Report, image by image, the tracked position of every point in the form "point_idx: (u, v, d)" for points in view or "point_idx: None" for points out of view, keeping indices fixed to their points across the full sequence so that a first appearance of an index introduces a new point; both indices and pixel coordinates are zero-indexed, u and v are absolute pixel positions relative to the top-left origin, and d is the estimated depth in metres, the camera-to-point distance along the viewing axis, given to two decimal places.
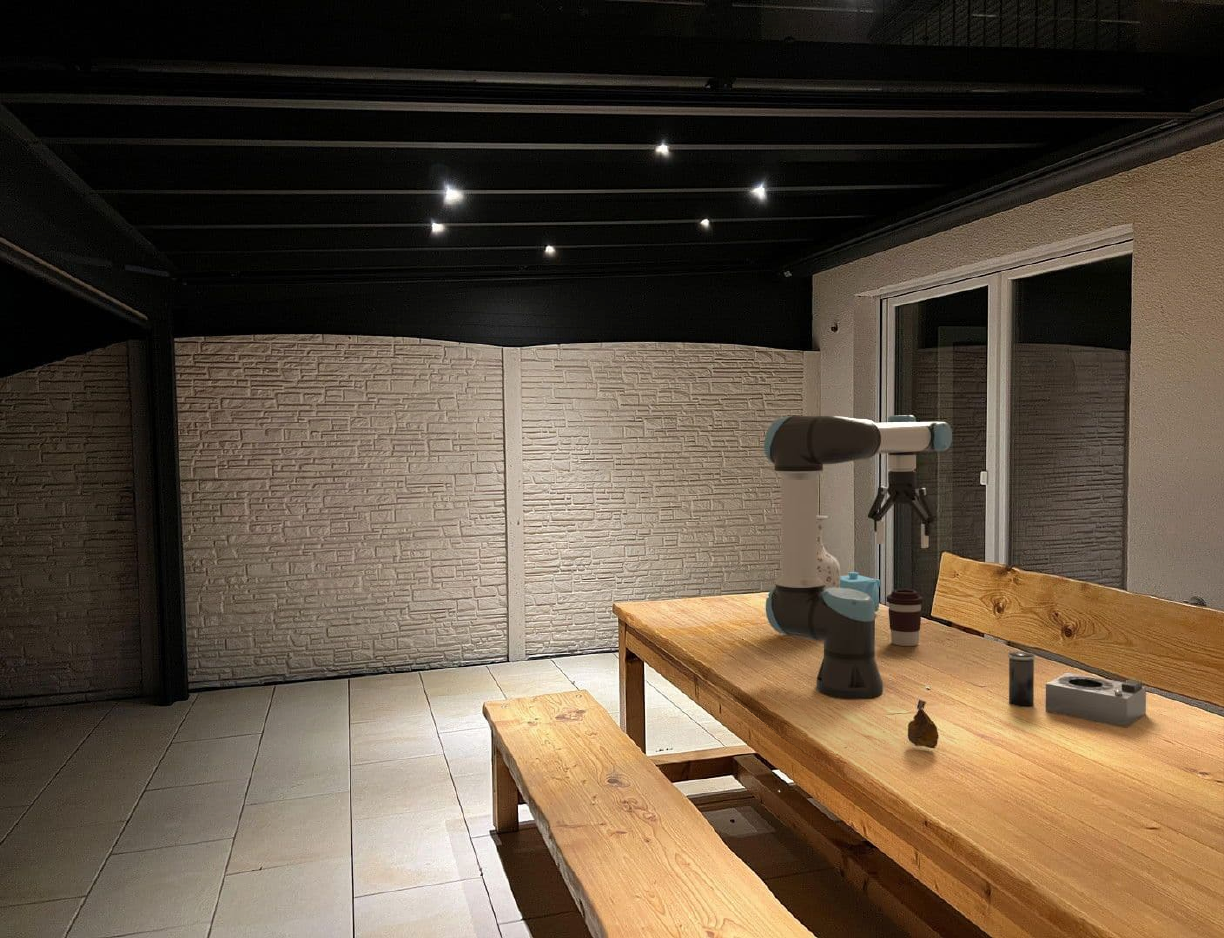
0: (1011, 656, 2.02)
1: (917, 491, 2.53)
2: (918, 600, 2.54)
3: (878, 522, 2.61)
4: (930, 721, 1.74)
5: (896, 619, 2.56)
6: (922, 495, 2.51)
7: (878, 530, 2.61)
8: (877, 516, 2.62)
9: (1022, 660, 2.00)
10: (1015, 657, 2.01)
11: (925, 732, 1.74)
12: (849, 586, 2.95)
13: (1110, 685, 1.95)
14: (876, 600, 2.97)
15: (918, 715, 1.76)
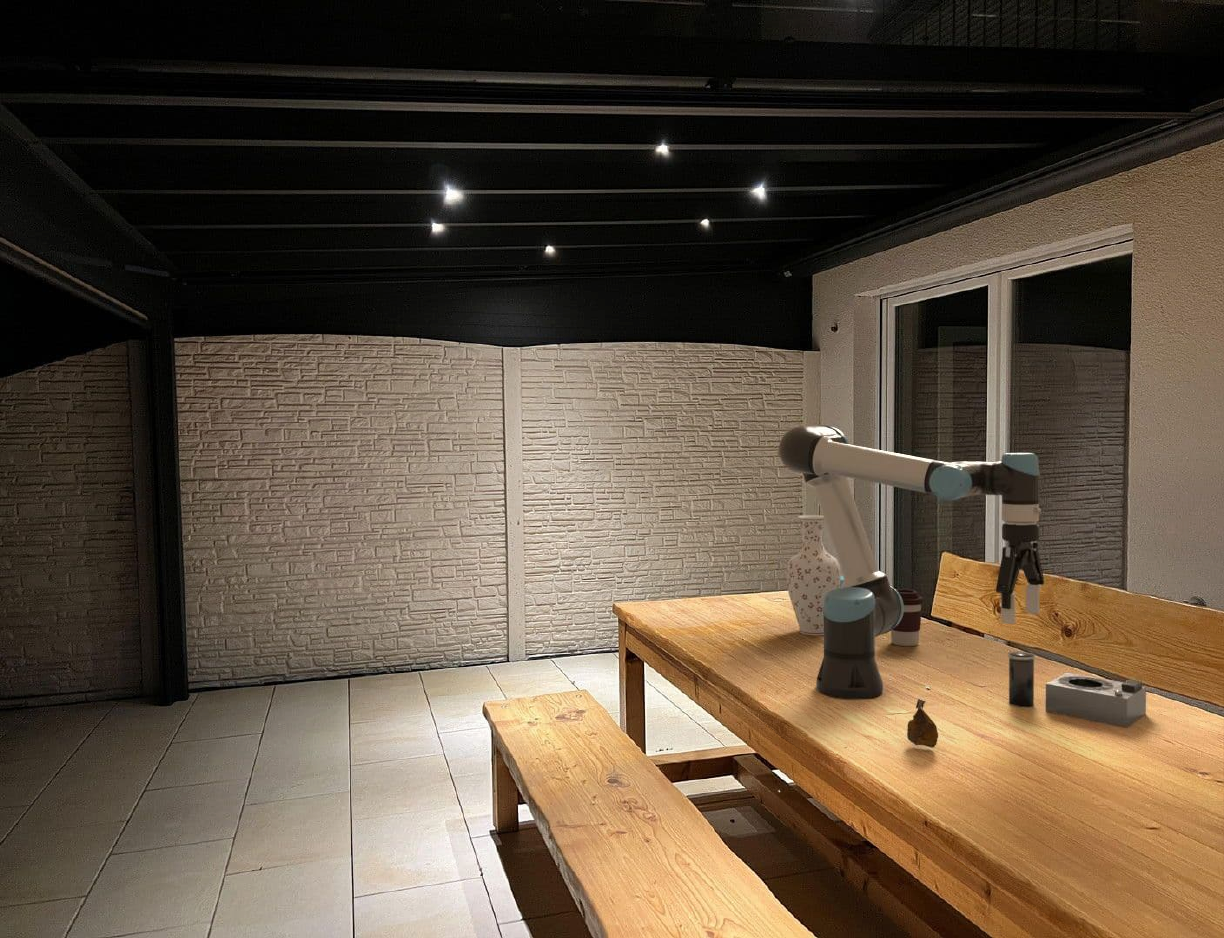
0: (1011, 656, 2.02)
1: None
2: (918, 600, 2.54)
3: (1026, 585, 2.08)
4: (930, 720, 1.74)
5: None
6: None
7: (1026, 595, 2.08)
8: None
9: (1022, 660, 2.00)
10: (1015, 657, 2.01)
11: (925, 731, 1.74)
12: None
13: (1110, 685, 1.95)
14: None
15: (917, 715, 1.76)
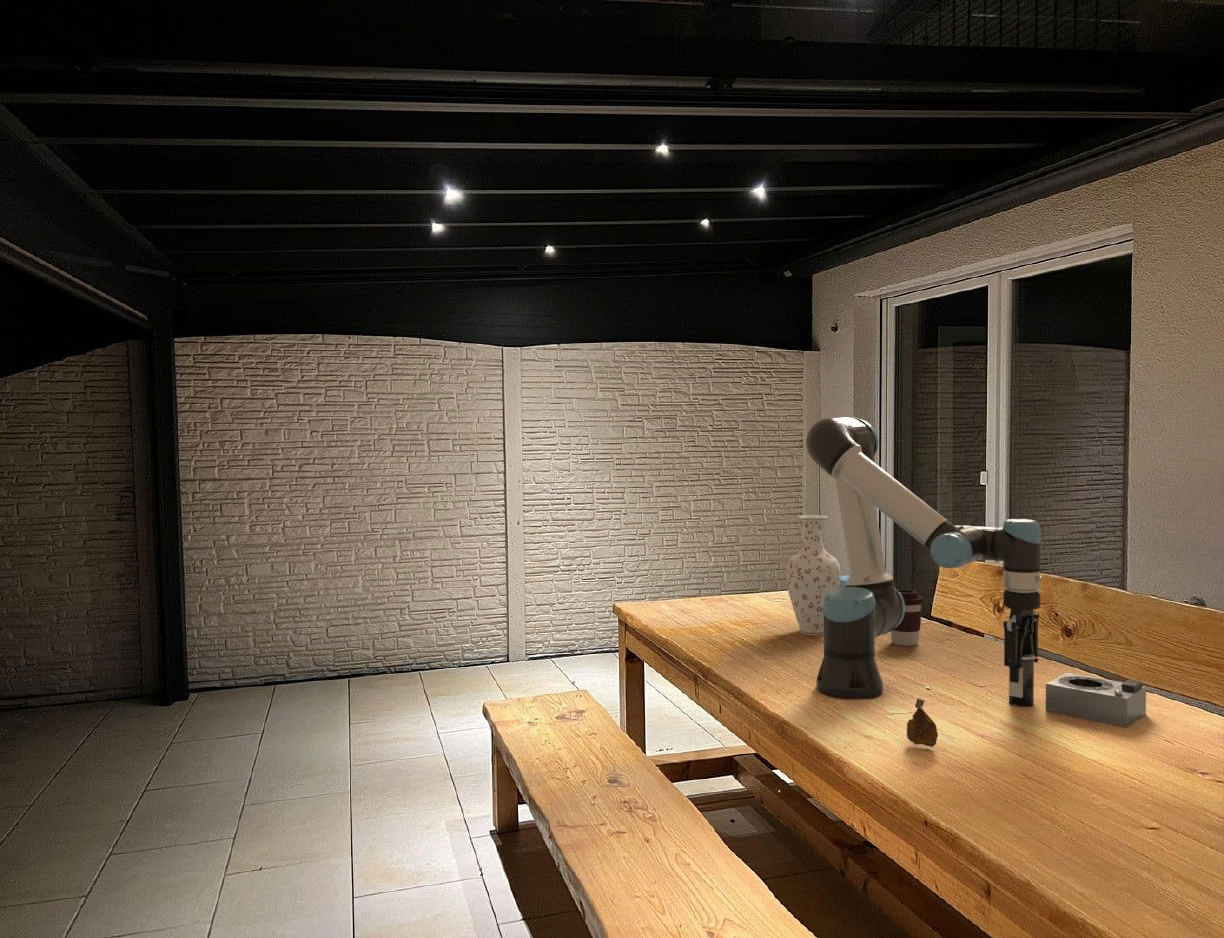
0: None
1: None
2: (918, 600, 2.54)
3: None
4: (929, 719, 1.75)
5: None
6: None
7: None
8: None
9: (1022, 660, 2.00)
10: None
11: (925, 730, 1.75)
12: None
13: (1110, 685, 1.95)
14: None
15: (917, 714, 1.77)
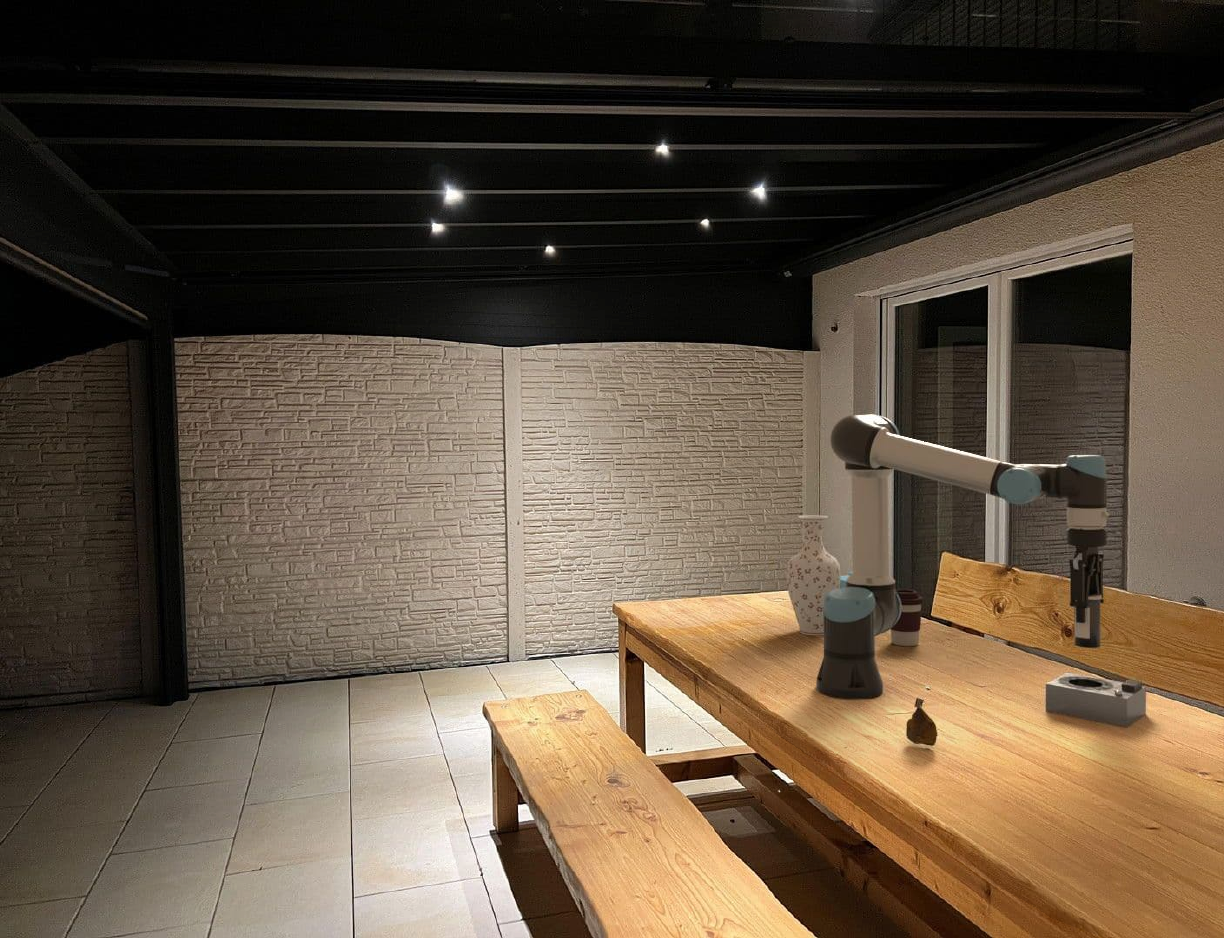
0: None
1: None
2: (918, 600, 2.54)
3: None
4: (929, 719, 1.75)
5: None
6: (1070, 568, 1.93)
7: None
8: None
9: (1089, 599, 1.94)
10: None
11: (924, 730, 1.75)
12: None
13: (1110, 685, 1.95)
14: None
15: (917, 713, 1.77)
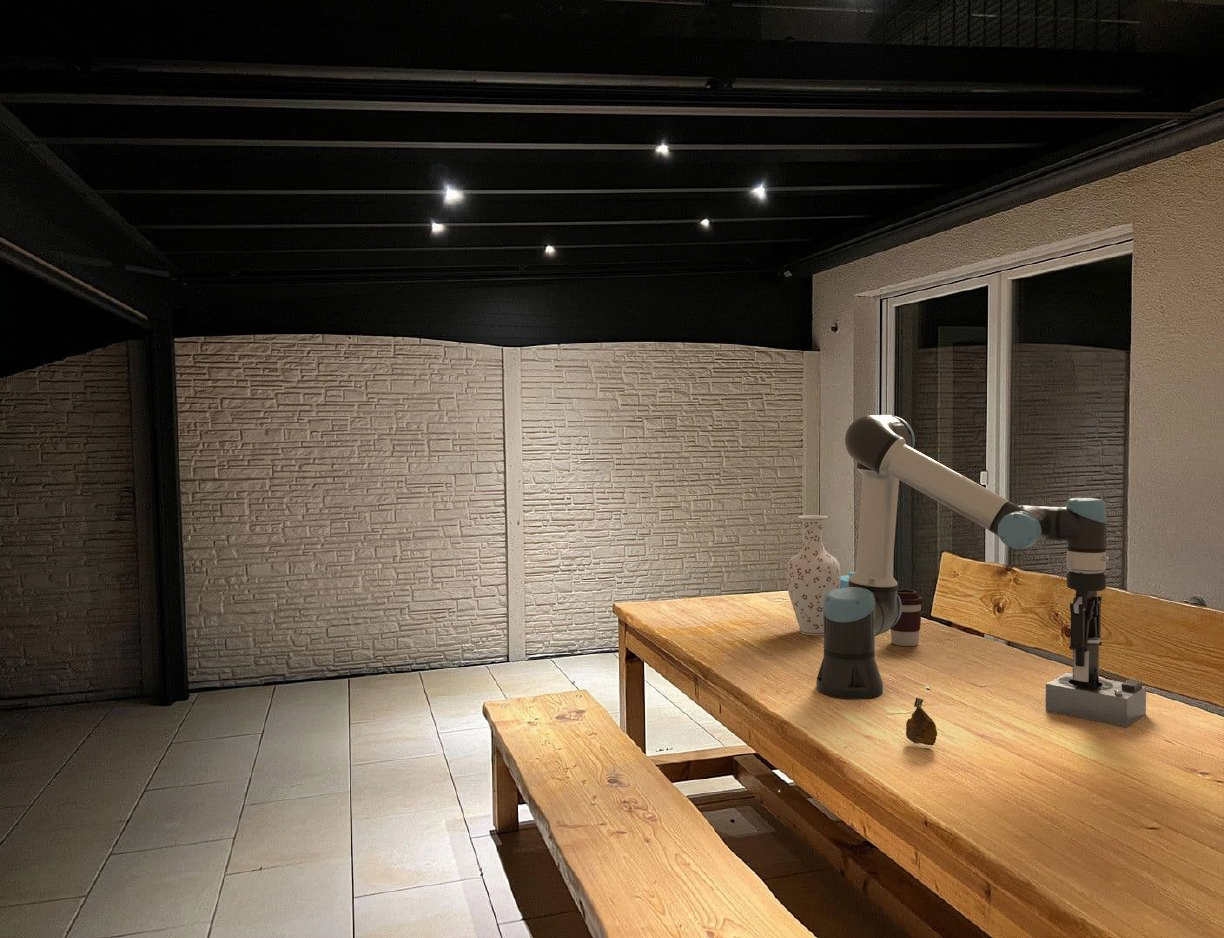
0: None
1: None
2: (918, 600, 2.54)
3: None
4: (929, 718, 1.75)
5: None
6: (1071, 612, 1.93)
7: None
8: None
9: (1088, 643, 1.94)
10: None
11: (924, 729, 1.75)
12: None
13: (1110, 685, 1.95)
14: None
15: (916, 713, 1.77)
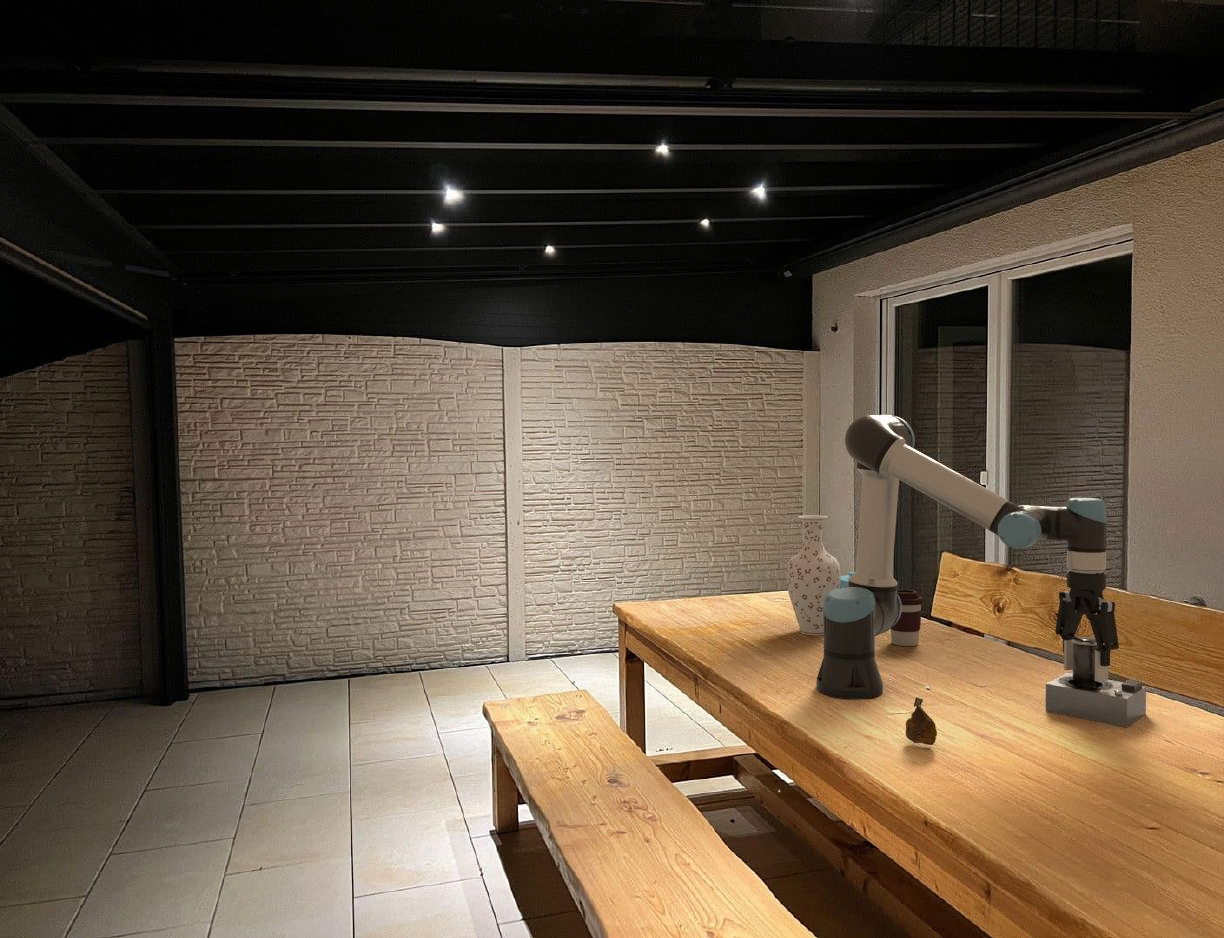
0: (1089, 643, 1.94)
1: (1101, 603, 1.92)
2: (918, 600, 2.54)
3: (1066, 642, 2.01)
4: (929, 718, 1.76)
5: None
6: (1103, 611, 1.90)
7: (1065, 652, 2.01)
8: (1064, 633, 2.01)
9: None
10: (1094, 643, 1.94)
11: (924, 729, 1.75)
12: None
13: (1110, 685, 1.95)
14: None
15: (916, 713, 1.77)
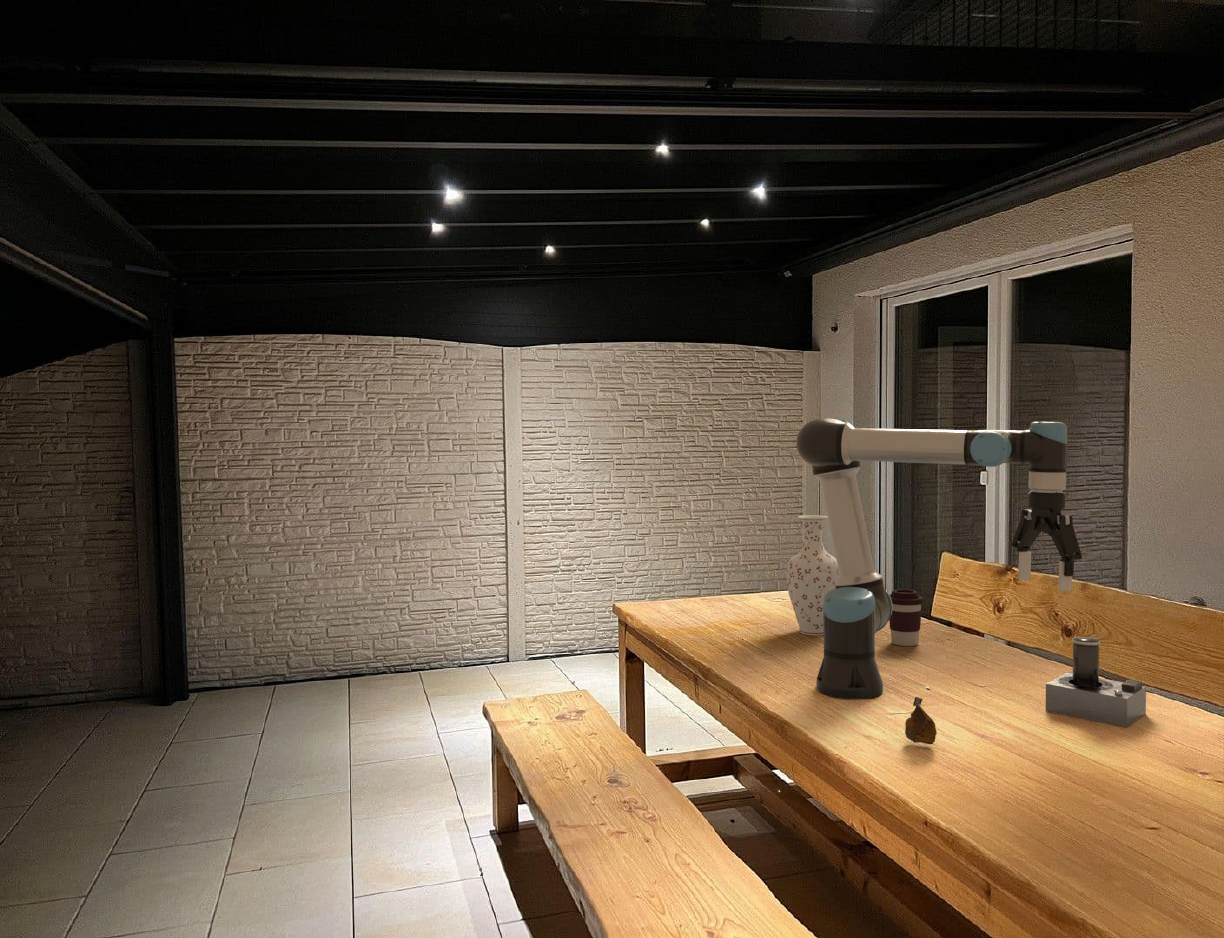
0: (1089, 643, 1.94)
1: (1059, 519, 2.00)
2: (918, 600, 2.54)
3: (1020, 553, 2.11)
4: (928, 718, 1.76)
5: (896, 619, 2.56)
6: (1062, 524, 1.98)
7: (1020, 563, 2.12)
8: (1020, 545, 2.12)
9: (1098, 644, 1.95)
10: (1094, 643, 1.94)
11: (924, 729, 1.76)
12: None
13: (1110, 685, 1.95)
14: None
15: (916, 712, 1.78)
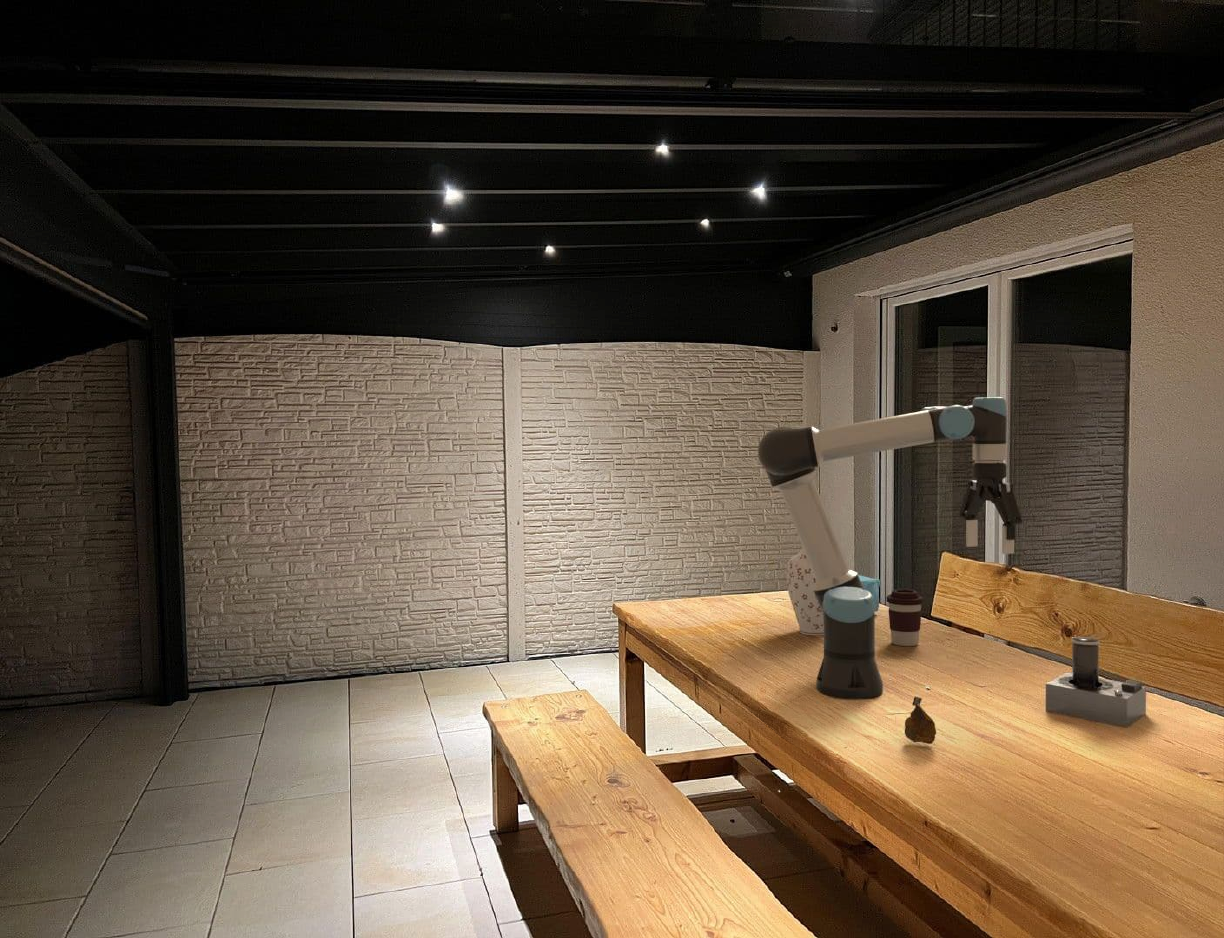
0: (1088, 643, 1.94)
1: (1001, 487, 2.15)
2: (918, 600, 2.54)
3: (967, 521, 2.26)
4: (928, 717, 1.76)
5: (896, 619, 2.56)
6: (1003, 491, 2.13)
7: (967, 531, 2.26)
8: (967, 514, 2.26)
9: (1098, 644, 1.95)
10: (1093, 643, 1.94)
11: (923, 728, 1.76)
12: None
13: (1110, 685, 1.95)
14: (876, 600, 2.97)
15: (915, 712, 1.78)
